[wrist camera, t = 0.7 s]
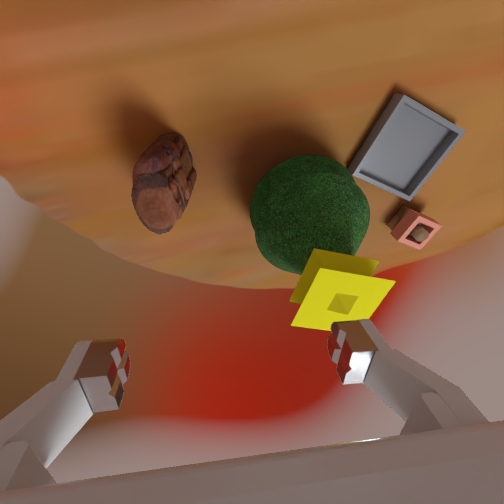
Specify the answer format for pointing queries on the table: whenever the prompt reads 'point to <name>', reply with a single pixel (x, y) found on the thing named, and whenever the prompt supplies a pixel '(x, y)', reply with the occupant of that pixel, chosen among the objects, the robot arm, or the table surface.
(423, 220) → the ring
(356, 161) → the tray
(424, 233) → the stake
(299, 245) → the decorative tree
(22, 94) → the table surface
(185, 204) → the wooden figurine
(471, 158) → the table surface
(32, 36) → the table surface
